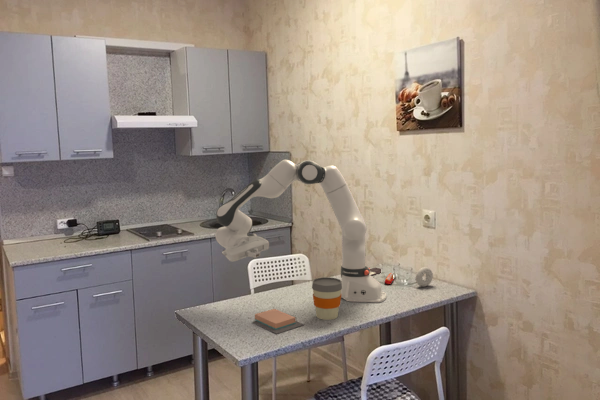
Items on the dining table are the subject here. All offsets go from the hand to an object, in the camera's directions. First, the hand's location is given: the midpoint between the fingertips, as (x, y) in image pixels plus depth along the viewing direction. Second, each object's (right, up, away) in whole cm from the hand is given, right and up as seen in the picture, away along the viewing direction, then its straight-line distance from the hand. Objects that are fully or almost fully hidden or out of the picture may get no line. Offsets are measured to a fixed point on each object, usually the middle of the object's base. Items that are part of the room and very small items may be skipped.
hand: (257, 255), depth 213 cm
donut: (+80, -20, +37) cm, 91 cm away
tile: (+3, -24, -5) cm, 25 cm away
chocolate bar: (+58, -17, +64) cm, 88 cm away
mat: (+9, -26, -11) cm, 30 cm away
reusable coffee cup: (+29, -25, -3) cm, 39 cm away
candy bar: (+65, -19, +48) cm, 83 cm away
